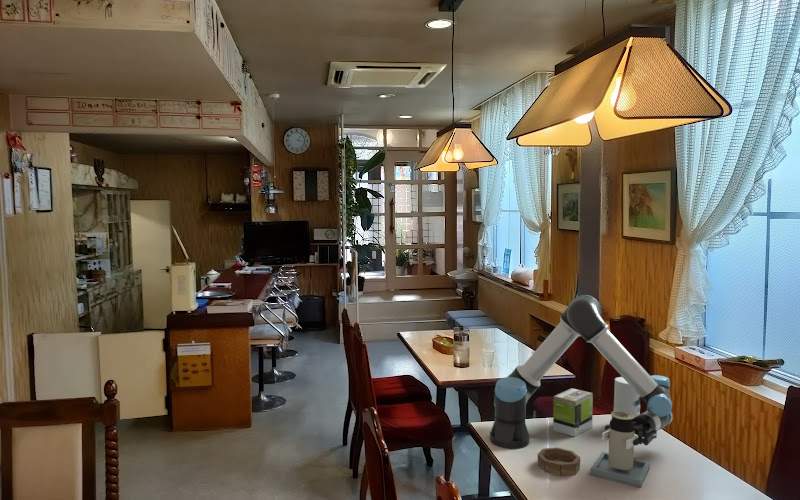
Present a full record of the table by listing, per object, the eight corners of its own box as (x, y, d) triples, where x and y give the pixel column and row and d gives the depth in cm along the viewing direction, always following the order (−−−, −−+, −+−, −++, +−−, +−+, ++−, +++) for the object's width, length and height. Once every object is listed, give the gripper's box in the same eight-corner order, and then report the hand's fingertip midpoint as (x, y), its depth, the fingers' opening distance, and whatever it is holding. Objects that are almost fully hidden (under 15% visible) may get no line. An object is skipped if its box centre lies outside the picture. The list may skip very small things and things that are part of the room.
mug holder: (533, 469, 200) (533, 458, 200) (546, 455, 211) (546, 444, 211) (572, 479, 193) (572, 467, 193) (583, 464, 204) (583, 453, 204)
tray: (590, 475, 196) (590, 468, 196) (602, 458, 210) (602, 451, 210) (640, 487, 188) (641, 480, 187) (649, 469, 201) (649, 462, 201)
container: (641, 433, 234) (643, 384, 232) (615, 431, 236) (617, 382, 234) (636, 424, 243) (638, 377, 242) (611, 422, 245) (613, 375, 244)
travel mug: (610, 469, 195) (612, 417, 194) (606, 459, 203) (608, 409, 202) (635, 471, 194) (637, 419, 193) (630, 461, 202) (632, 411, 200)
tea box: (570, 421, 246) (571, 387, 245) (592, 427, 239) (594, 392, 238) (552, 430, 236) (553, 394, 235) (574, 437, 228) (575, 401, 227)
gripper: (674, 443, 202) (644, 461, 187) (618, 426, 218) (586, 442, 202) (675, 422, 202) (645, 439, 187) (618, 406, 217) (587, 421, 202)
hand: (614, 440), depth 195 cm, fingers closed on travel mug, 8 cm apart
